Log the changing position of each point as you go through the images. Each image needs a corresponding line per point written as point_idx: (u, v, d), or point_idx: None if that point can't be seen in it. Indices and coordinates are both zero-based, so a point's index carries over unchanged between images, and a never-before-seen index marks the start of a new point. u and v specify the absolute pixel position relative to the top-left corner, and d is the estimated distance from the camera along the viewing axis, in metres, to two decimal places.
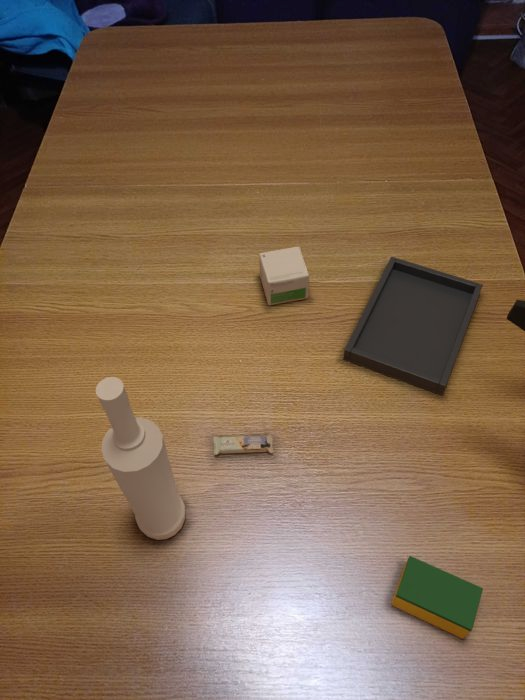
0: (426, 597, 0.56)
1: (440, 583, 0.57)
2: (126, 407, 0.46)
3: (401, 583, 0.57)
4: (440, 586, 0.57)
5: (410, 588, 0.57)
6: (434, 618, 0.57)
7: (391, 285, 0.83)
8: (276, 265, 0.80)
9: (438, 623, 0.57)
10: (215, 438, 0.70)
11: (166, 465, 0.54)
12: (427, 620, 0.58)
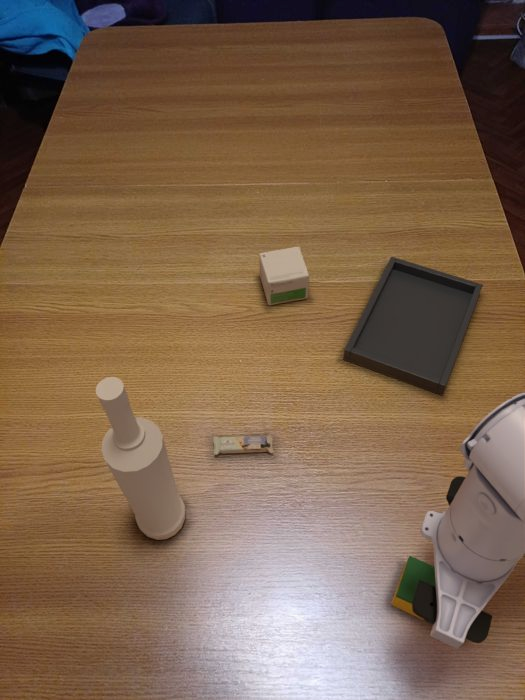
0: None
1: None
2: (126, 407, 0.46)
3: (401, 583, 0.57)
4: None
5: (410, 588, 0.57)
6: None
7: (391, 285, 0.83)
8: (276, 265, 0.80)
9: None
10: (215, 438, 0.70)
11: (166, 465, 0.54)
12: None
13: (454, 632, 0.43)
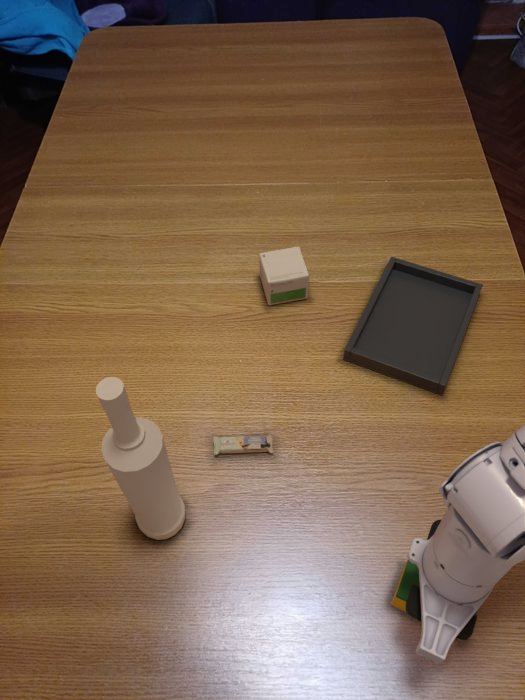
0: None
1: None
2: (126, 407, 0.46)
3: (401, 583, 0.57)
4: None
5: (410, 588, 0.57)
6: None
7: (391, 285, 0.83)
8: (276, 265, 0.80)
9: None
10: (215, 438, 0.70)
11: (166, 465, 0.54)
12: None
13: (437, 650, 0.47)
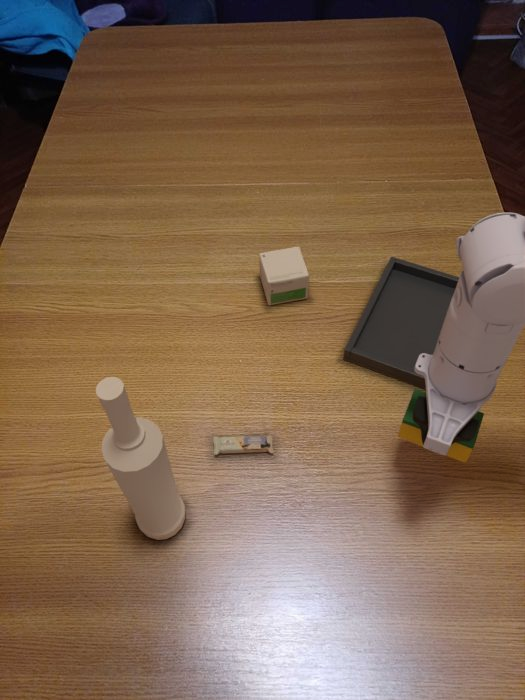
0: None
1: None
2: (126, 407, 0.46)
3: (407, 410, 0.60)
4: None
5: None
6: None
7: (391, 285, 0.83)
8: (276, 265, 0.80)
9: None
10: (215, 438, 0.70)
11: (166, 465, 0.54)
12: None
13: (443, 440, 0.51)
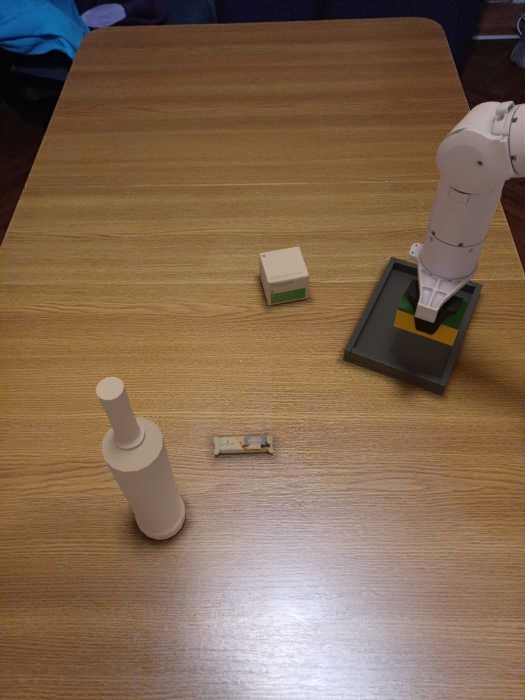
0: None
1: None
2: (126, 407, 0.46)
3: (402, 299, 0.70)
4: None
5: (409, 302, 0.69)
6: None
7: (391, 285, 0.83)
8: (276, 265, 0.80)
9: None
10: (215, 438, 0.70)
11: (166, 465, 0.54)
12: (423, 333, 0.71)
13: None
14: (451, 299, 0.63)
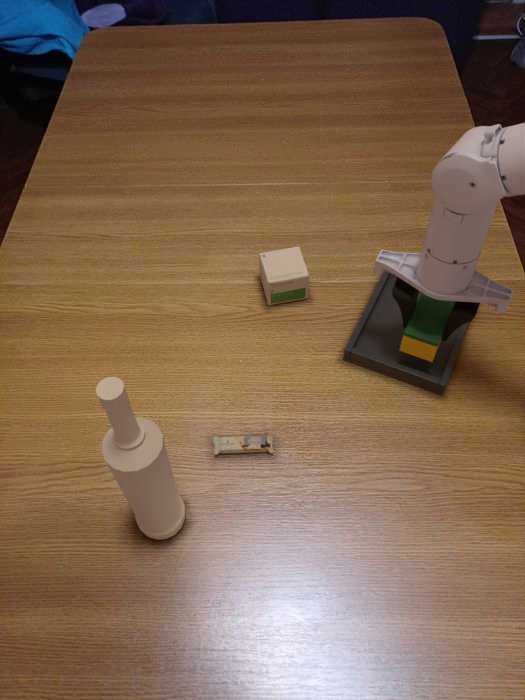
0: (423, 307, 0.72)
1: (436, 317, 0.71)
2: (127, 407, 0.46)
3: None
4: (434, 317, 0.71)
5: (428, 299, 0.73)
6: None
7: (391, 285, 0.83)
8: (276, 265, 0.80)
9: None
10: (215, 438, 0.70)
11: (166, 465, 0.54)
12: None
13: (381, 260, 0.67)
14: (406, 291, 0.67)
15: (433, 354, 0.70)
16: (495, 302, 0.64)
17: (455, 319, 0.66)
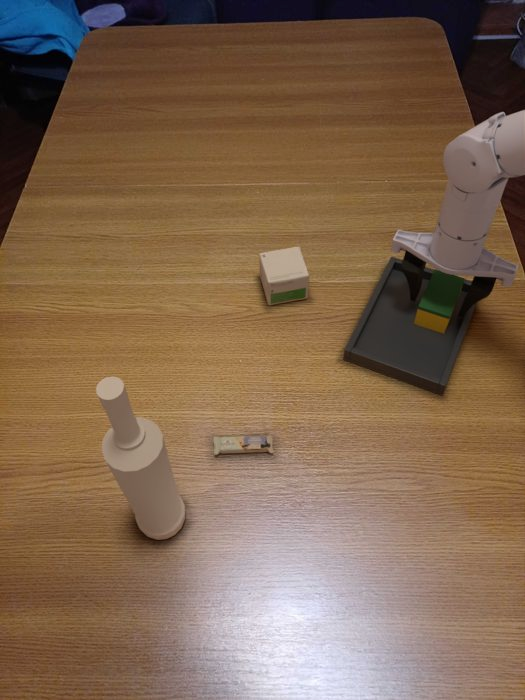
0: (436, 284, 0.78)
1: (448, 293, 0.77)
2: (127, 407, 0.46)
3: None
4: (445, 292, 0.77)
5: (440, 276, 0.79)
6: None
7: (391, 285, 0.83)
8: (276, 265, 0.80)
9: None
10: (215, 438, 0.70)
11: (166, 465, 0.54)
12: None
13: (398, 239, 0.74)
14: (414, 265, 0.74)
15: (445, 326, 0.77)
16: (502, 276, 0.70)
17: (473, 295, 0.73)
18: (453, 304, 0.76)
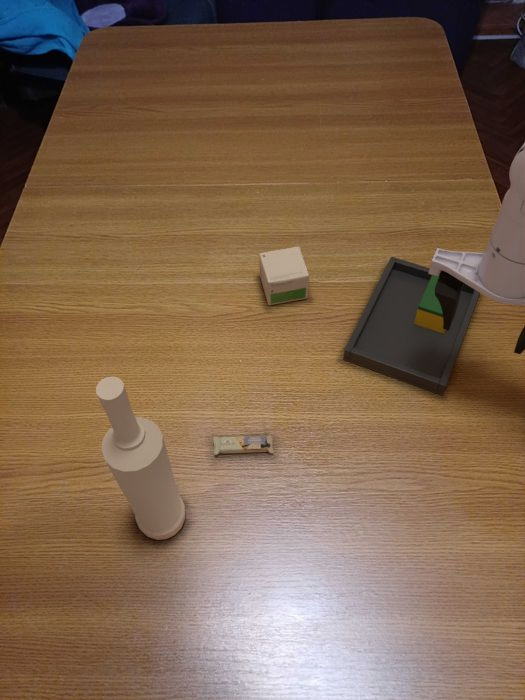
0: None
1: None
2: (126, 407, 0.46)
3: None
4: None
5: None
6: None
7: (391, 285, 0.83)
8: (276, 265, 0.80)
9: None
10: (215, 438, 0.70)
11: (166, 465, 0.54)
12: None
13: (437, 260, 0.61)
14: (451, 289, 0.61)
15: None
16: None
17: None
18: None
